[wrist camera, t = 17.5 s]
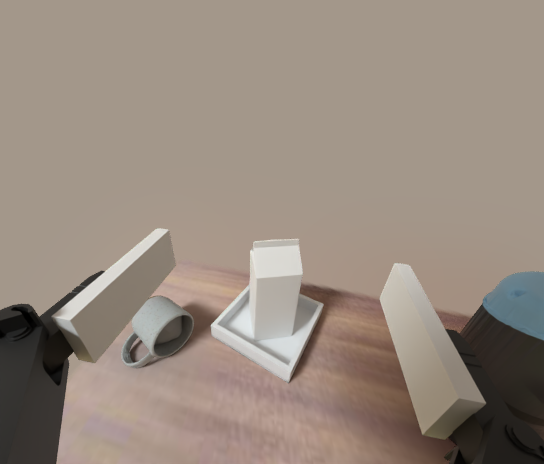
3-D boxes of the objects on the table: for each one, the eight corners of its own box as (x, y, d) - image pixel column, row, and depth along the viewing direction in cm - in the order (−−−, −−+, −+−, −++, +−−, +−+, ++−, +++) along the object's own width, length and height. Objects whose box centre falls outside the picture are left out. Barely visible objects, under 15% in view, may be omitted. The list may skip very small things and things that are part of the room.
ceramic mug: (170, 311, 46) (163, 283, 42) (197, 334, 42) (192, 305, 38) (114, 352, 39) (98, 323, 35) (140, 384, 35) (126, 355, 31)
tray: (321, 314, 48) (323, 304, 47) (288, 383, 36) (290, 372, 35) (257, 284, 54) (258, 275, 53) (211, 335, 42) (210, 325, 41)
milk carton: (292, 336, 43) (306, 252, 33) (253, 341, 41) (257, 256, 31) (283, 306, 49) (293, 227, 39) (249, 309, 47) (250, 229, 37)
